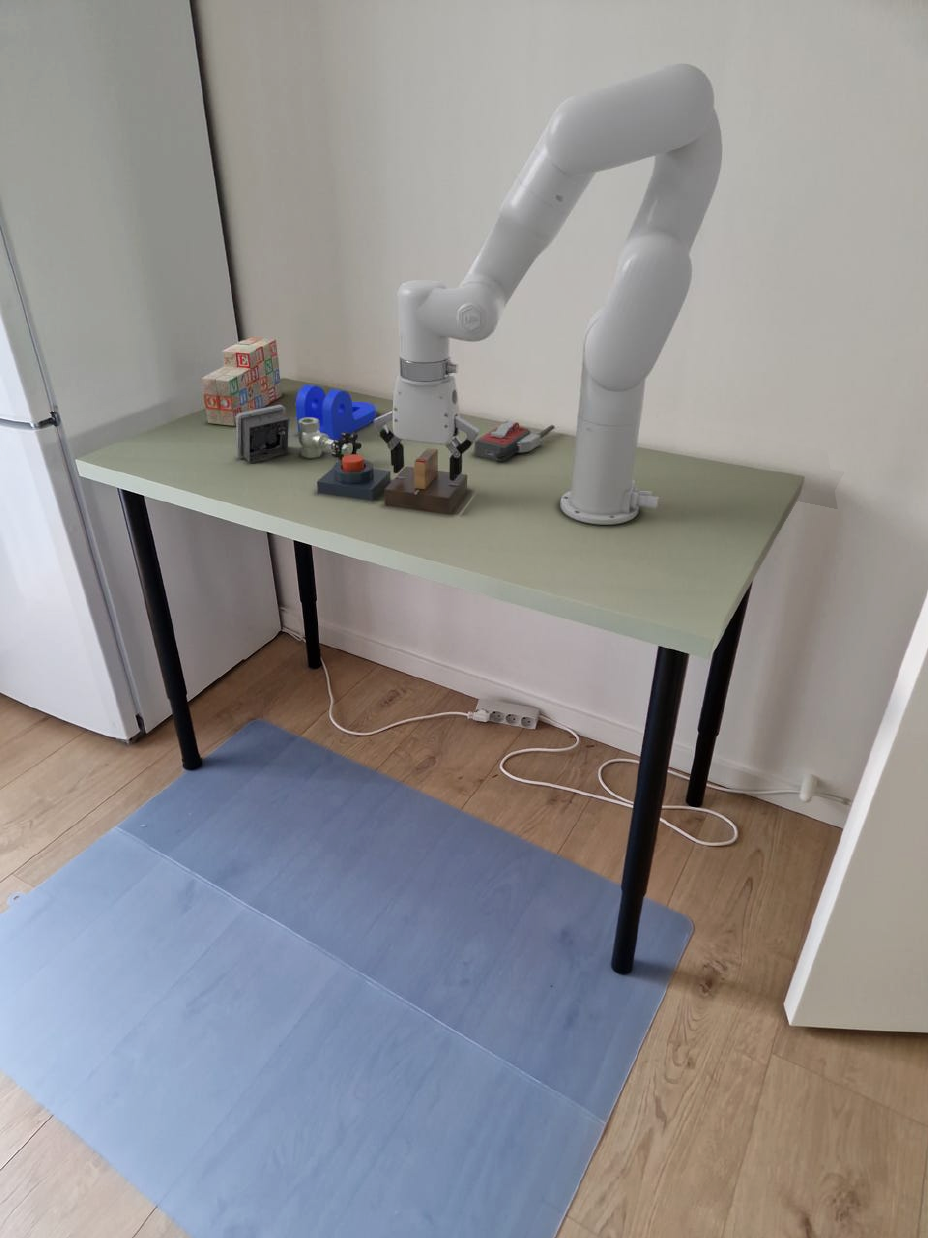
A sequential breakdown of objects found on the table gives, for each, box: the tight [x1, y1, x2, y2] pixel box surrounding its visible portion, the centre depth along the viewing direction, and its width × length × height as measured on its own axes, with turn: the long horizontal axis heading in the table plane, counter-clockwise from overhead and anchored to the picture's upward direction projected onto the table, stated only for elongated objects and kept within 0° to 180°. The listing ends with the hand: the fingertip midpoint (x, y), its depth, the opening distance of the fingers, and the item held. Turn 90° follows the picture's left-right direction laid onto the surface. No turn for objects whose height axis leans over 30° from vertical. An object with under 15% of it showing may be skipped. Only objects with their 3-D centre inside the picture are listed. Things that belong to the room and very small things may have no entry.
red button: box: [342, 453, 365, 471], centre depth 136 cm, size 4×4×2 cm
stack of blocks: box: [201, 337, 283, 427], centre depth 169 cm, size 21×6×12 cm, turn 165°
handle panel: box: [383, 466, 468, 516], centre depth 134 cm, size 11×11×3 cm
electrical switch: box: [235, 404, 290, 464], centre depth 147 cm, size 9×5×9 cm, turn 128°
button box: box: [316, 459, 392, 502], centre depth 137 cm, size 10×8×4 cm
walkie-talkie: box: [473, 420, 556, 462], centre depth 154 cm, size 9×4×20 cm
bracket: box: [295, 384, 377, 441], centre depth 162 cm, size 18×8×9 cm, turn 152°
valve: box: [297, 417, 363, 464], centre depth 147 cm, size 7×7×12 cm
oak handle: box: [413, 447, 439, 489], centre depth 132 cm, size 6×2×5 cm, turn 163°
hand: (426, 473), depth 133 cm, fingers open, 9 cm apart
